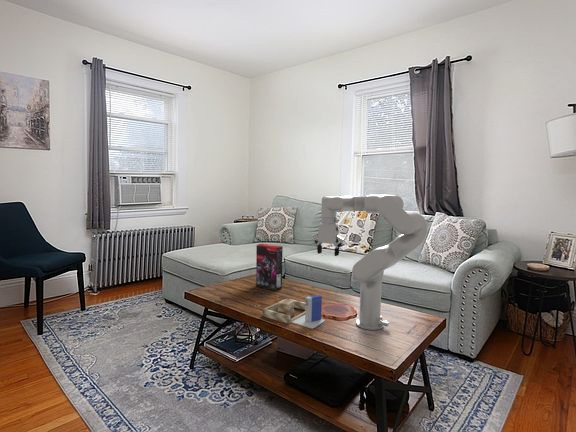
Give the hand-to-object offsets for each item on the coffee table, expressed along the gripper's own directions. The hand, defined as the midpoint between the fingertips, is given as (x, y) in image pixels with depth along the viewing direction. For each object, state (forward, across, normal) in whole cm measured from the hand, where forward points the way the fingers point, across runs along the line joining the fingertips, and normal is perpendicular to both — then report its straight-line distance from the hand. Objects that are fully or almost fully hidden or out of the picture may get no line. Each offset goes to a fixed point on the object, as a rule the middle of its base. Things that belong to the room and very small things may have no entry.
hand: (327, 254), depth 177 cm
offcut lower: (+31, +13, +18) cm, 38 cm away
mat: (+30, +1, +16) cm, 34 cm away
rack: (+30, +15, +13) cm, 36 cm away
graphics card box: (+31, +51, -17) cm, 62 cm away
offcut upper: (+26, +13, +18) cm, 35 cm away
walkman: (+30, 0, +14) cm, 33 cm away
